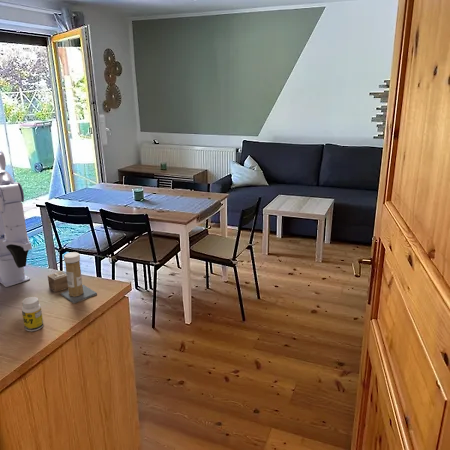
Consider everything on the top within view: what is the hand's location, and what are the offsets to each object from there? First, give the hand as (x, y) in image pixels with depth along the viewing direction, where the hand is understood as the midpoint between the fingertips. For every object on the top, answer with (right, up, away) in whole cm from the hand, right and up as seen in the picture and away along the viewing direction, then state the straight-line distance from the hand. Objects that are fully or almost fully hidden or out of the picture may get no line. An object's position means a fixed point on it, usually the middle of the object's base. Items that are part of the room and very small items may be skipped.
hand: (21, 266), depth 129 cm
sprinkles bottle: (+15, -9, +5) cm, 18 cm away
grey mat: (+16, -9, +5) cm, 19 cm away
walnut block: (+8, -8, +10) cm, 15 cm away
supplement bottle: (+10, -16, -12) cm, 22 cm away
